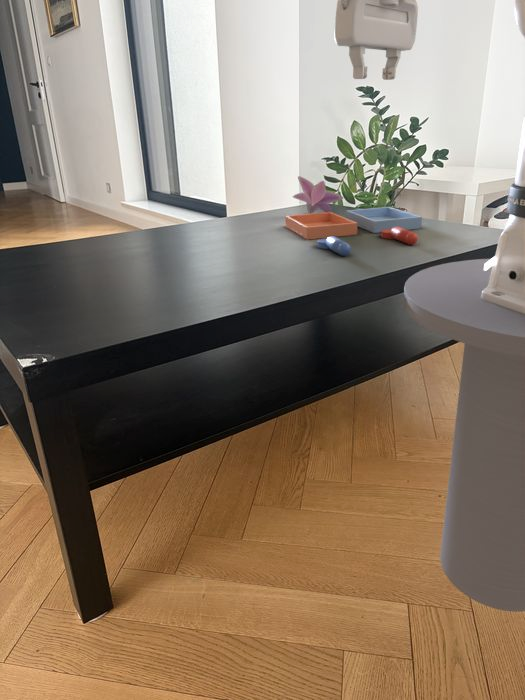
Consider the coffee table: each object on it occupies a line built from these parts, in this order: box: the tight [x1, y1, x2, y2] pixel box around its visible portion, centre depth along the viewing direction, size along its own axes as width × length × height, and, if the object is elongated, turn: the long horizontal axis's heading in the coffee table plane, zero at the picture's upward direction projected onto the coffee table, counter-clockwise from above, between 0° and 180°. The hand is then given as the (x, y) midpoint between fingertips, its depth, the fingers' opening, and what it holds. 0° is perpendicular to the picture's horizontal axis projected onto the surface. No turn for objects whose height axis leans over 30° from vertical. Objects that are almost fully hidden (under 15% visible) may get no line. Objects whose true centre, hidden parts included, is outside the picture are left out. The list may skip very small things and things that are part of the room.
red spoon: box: [380, 227, 419, 246], centre depth 109 cm, size 11×4×2 cm, turn 15°
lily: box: [292, 176, 344, 214], centre depth 135 cm, size 12×12×10 cm
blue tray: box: [345, 206, 423, 234], centre depth 124 cm, size 15×11×2 cm
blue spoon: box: [317, 236, 352, 257], centre depth 103 cm, size 11×4×2 cm, turn 15°
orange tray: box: [284, 211, 358, 241], centre depth 121 cm, size 15×11×2 cm
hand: (374, 79), depth 93 cm, fingers open, 8 cm apart
